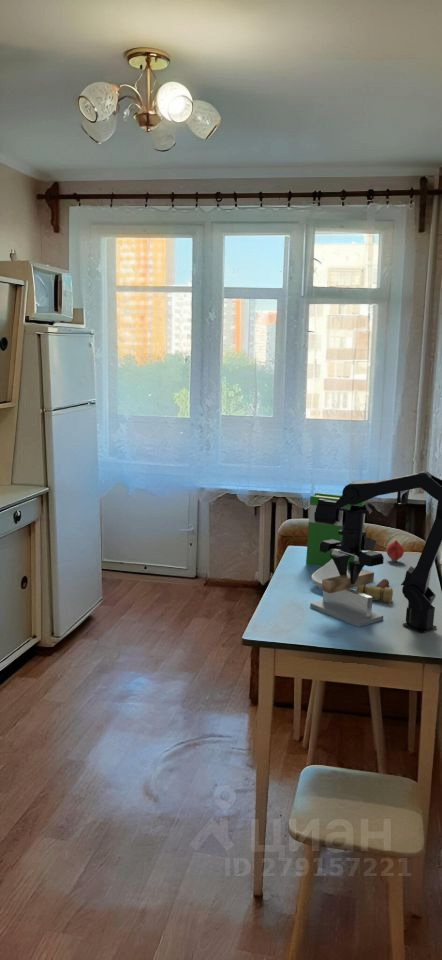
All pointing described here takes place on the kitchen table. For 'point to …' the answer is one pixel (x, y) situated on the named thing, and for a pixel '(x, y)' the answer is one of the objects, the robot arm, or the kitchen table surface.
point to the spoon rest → (325, 573)
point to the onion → (395, 550)
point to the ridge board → (345, 614)
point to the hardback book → (323, 532)
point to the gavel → (378, 591)
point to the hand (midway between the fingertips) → (348, 582)
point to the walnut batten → (346, 582)
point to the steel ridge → (350, 602)
